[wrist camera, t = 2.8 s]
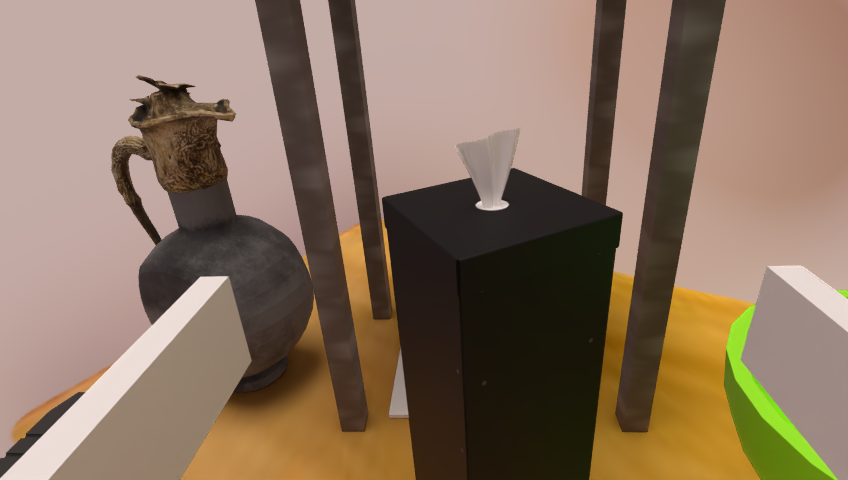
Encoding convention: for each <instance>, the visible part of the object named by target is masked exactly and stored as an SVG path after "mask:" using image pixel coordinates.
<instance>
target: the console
mask: <svg viewBox="0 0 848 480" xmlns="http://www.w3.org/2000/svg"><path fill="white" fill-rule="evenodd" d="M725 1H726V0H673V2H672V9H671V17H670V24H669V31H668V38H667V46H666V52H665V59H664V67H663V74H662V81H661V89H660V96H659V103H658V111H657V118H656V124H655V132H654V139H653V146H652V153H651V161H650V168H649V175H648V183H647V189H646V197H645V204H644V211H643V218H642V225H641V233H640V240H639V247H638V254H637V262H636V269H635V276H634V283H633V290H632V298H631V305H630V312H629V319H628V326H627V334H626V341H625V348H624V355H623V363H622V370H621V377H620V384H619V391H618V399H617V406H616V413H615V414H616V416H617V419H618V421H619V424H620V427H621V429H622V432H647V431H648V425H649V420H650V414H651V409H652V403H653V398H654V392H655V387H656V381H657V376H658V370H659V365H660V359H661V354H662V348H663V343H664V337H665V332H666V326H667V321H668V315H669V310H670V304H671V299H672V293H673V288H674V282H675V276H676V271H677V266H678V260H679V254H680V249H681V244H682V238H683V233H684V227H685V222H686V216H687V211H688V205H689V200H690V194H691V188H692V183H693V178H694V172H695V167H696V161H697V156H698V150H699V145H700V139H701V134H702V128H703V123H704V117H705V112H706V106H707V101H708V95H709V89H710V84H711V79H712V73H713V68H714V62H715V57H716V51H717V46H718V41H719V35H720V30H721V24H722V18H723V13H724V7H725ZM255 2H256V6H257V12H258V17H259V22H260V27H261V32H262V37H263V41H264V46H265V51H266V56H267V61H268V66H269V71H270V76H271V81H272V86H273V91H274V96H275V101H276V105H277V111H278V116H279V121H280V126H281V131H282V136H283V140H284V146H285V150H286V155H287V160H288V165H289V170H290V175H291V180H292V185H293V190H294V195H295V200H296V205H297V210H298V215H299V220H300V224H301V230H302V235H303V240H304V245H305V250H306V255H307V260H308V265H309V270H310V275H311V279H312V284H313V289H314V294H315V299H316V304H317V309H318V314H319V319H320V324H321V329H322V334H323V339H324V344H325V349H326V354H327V359H328V364H329V369H330V374H331V379H332V384H333V389H334V393H335V398H336V403H337V408H338V413H339V418H340V423H341V428H342V431H365V426H366V422H367V417H368V409H367V403H366V397H365V391H364V385H363V379H362V373H361V367H360V361H359V355H358V349H357V343H356V336H355V330H354V324H353V318H352V312H351V306H350V300H349V294H348V288H347V282H346V276H345V270H344V264H343V258H342V252H341V246H340V240H339V234H338V228H337V222H336V217H335V216H336V215H335V209H334V204H333V197H332V192H331V185H330V179H329V173H328V167H327V162H326V155H325V149H324V143H323V138H322V131H321V125H320V119H319V113H318V107H317V102H316V95H315V88H314V82H313V76H312V70H311V64H310V58H309V53H308V46H307V40H306V34H305V28H304V22H303V16H302V10H301V4H300V0H255ZM328 2H329V9H330V15H331V23H332V30H333V37H334V44H335V51H336V58H337V65H338V72H339V79H340V85H341V93H342V100H343V107H344V114H345V121H346V128H347V135H348V142H349V149H350V156H351V163H352V170H353V178H354V184H355V192H356V199H357V206H358V213H359V219H360V227H361V234H362V241H363V248H364V255H365V262H366V269H367V276H368V283H369V290H370V297H371V304H372V311H373V318H374V319H390V316H391V312H392V305H391V296H390V288H389V280H388V271H387V263H386V255H385V246H384V238H383V230H382V222H381V213H380V205H379V197H378V188H377V180H376V172H375V164H374V155H373V147H372V139H371V131H370V122H369V114H368V105H367V97H366V90H365V80H364V72H363V65H362V56H361V47H360V39H359V31H358V23H357V14H356V7H355V0H328ZM625 9H626V0H597V2H596V15H595V28H594V42H593V55H592V68H591V81H590V96H589V107H588V121H587V133H586V146H585V159H584V172H583V186H582V196H584V197H586V198H589V199H591V200H593V201H596V202H598V203H601V204H603V205H606V196H607V187H608V178H609V168H610V157H611V147H612V138H613V128H614V118H615V108H616V99H617V89H618V78H619V69H620V58H621V49H622V39H623V29H624V19H625ZM389 418H409V415H408V407H407V398H406V389H405V381H404V372H403V364H402V355H401V347H400V353H399V359H398V364H397V370H396V376H395V381H394V387H393V393H392V398H391V404H390V410H389Z"/></svg>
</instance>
